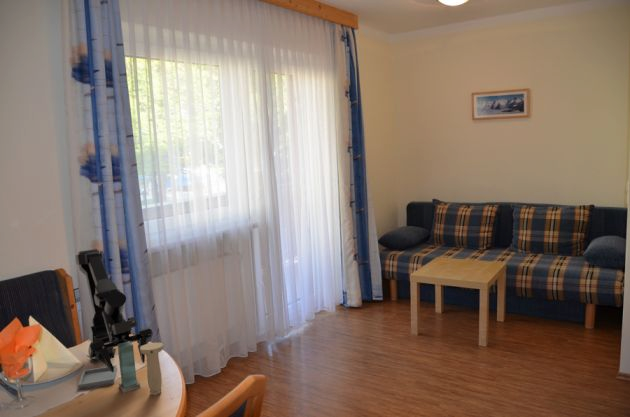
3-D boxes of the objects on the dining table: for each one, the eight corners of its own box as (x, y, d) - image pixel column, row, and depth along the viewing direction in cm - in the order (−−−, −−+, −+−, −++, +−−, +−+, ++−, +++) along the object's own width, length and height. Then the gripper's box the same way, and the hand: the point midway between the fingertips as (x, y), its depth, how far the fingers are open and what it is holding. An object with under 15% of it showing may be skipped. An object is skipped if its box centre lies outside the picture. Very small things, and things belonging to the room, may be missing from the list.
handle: (167, 395, 151) (162, 347, 149) (144, 399, 149) (139, 351, 147) (166, 387, 155) (162, 341, 153) (145, 391, 154) (140, 344, 151)
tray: (84, 374, 166) (83, 370, 166) (117, 369, 169) (116, 365, 169) (78, 389, 156) (78, 384, 156) (114, 383, 159) (113, 379, 159)
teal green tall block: (119, 386, 157) (114, 344, 155) (135, 381, 160) (131, 339, 158) (123, 392, 153) (119, 349, 151) (140, 387, 156) (135, 344, 154)
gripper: (86, 317, 151) (99, 365, 144) (148, 303, 162) (163, 346, 155) (83, 334, 158) (95, 380, 151) (142, 319, 169) (157, 362, 162)
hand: (128, 367), depth 155 cm, fingers open, 9 cm apart
